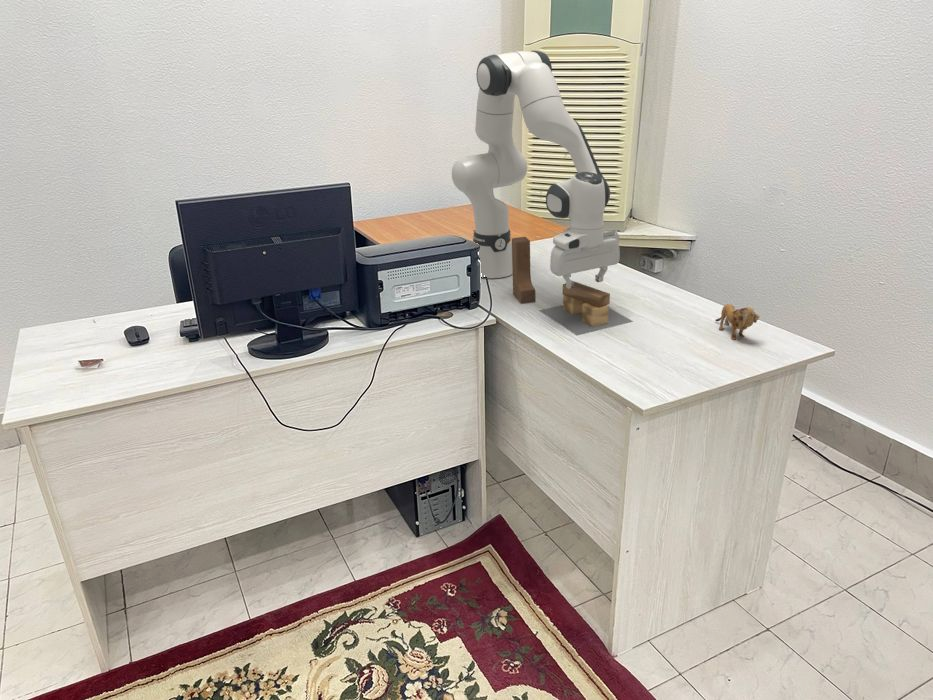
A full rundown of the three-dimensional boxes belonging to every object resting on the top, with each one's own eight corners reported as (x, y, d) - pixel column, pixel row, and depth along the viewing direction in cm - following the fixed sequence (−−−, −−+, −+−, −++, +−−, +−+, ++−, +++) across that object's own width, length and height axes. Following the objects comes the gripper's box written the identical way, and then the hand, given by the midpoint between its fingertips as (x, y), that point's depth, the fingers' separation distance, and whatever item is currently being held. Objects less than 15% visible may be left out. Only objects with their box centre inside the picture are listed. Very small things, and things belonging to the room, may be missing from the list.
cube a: (563, 308, 195) (563, 292, 193) (578, 305, 197) (578, 289, 195) (572, 314, 191) (572, 297, 189) (587, 310, 193) (588, 294, 191)
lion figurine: (758, 342, 170) (763, 309, 166) (740, 345, 169) (745, 312, 165) (723, 320, 183) (727, 289, 179) (706, 323, 182) (709, 292, 178)
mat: (539, 311, 195) (539, 310, 195) (592, 299, 201) (592, 298, 201) (576, 336, 179) (576, 335, 178) (633, 322, 185) (633, 321, 185)
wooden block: (535, 303, 201) (535, 244, 193) (521, 305, 200) (519, 246, 193) (526, 293, 209) (525, 236, 201) (512, 294, 208) (511, 237, 201)
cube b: (582, 320, 187) (582, 303, 185) (597, 316, 189) (598, 300, 186) (592, 326, 183) (592, 309, 181) (607, 323, 184) (608, 306, 182)
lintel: (599, 307, 182) (599, 297, 180) (562, 294, 192) (562, 284, 191) (609, 304, 184) (609, 293, 182) (572, 290, 194) (572, 280, 193)
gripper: (612, 226, 186) (609, 274, 192) (547, 238, 179) (546, 287, 185) (626, 232, 181) (623, 281, 187) (559, 245, 174) (558, 295, 180)
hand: (584, 284), depth 186 cm, fingers open, 8 cm apart
